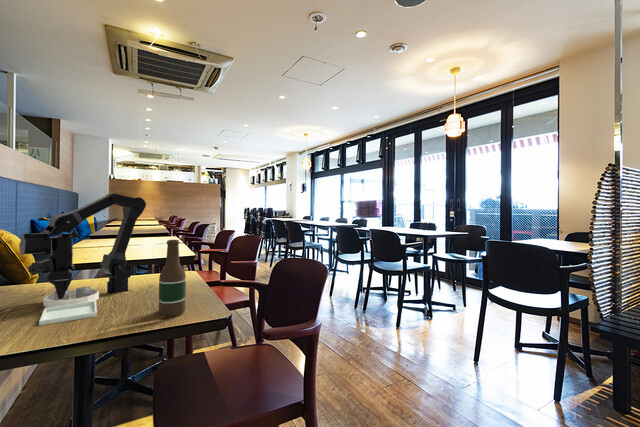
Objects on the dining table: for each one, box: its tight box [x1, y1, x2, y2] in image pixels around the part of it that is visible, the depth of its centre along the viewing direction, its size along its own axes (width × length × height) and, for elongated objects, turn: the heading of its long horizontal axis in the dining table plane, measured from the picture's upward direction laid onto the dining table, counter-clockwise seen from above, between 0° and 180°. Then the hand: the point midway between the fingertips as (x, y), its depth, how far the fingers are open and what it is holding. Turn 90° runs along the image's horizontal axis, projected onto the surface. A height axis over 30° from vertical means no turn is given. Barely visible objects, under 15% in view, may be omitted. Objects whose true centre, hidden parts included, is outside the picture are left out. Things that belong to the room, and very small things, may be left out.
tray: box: [38, 300, 98, 327], centre depth 93 cm, size 13×14×2 cm
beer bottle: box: [158, 239, 187, 318], centre depth 97 cm, size 8×8×24 cm
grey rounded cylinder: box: [75, 286, 91, 299], centre depth 108 cm, size 4×4×4 cm
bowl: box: [43, 288, 100, 308], centre depth 106 cm, size 15×15×3 cm
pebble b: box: [53, 289, 70, 300], centre depth 104 cm, size 4×4×4 cm
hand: (61, 295), depth 104 cm, fingers open, 9 cm apart
